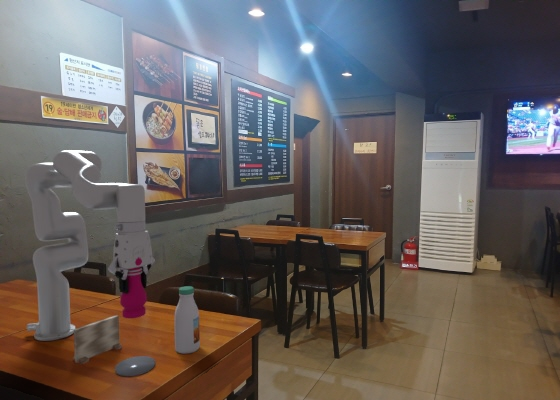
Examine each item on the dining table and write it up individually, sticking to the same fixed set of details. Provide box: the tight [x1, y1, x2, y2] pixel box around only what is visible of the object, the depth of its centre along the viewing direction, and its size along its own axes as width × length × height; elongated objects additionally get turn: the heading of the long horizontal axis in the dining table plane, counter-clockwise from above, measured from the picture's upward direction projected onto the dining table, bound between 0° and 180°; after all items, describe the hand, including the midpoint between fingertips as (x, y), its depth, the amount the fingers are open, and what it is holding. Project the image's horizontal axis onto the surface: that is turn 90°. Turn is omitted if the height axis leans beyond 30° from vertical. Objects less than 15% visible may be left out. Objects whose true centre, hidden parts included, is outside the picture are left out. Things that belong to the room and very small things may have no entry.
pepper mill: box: [119, 257, 148, 319], centre depth 111 cm, size 7×7×20 cm
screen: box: [72, 314, 123, 365], centre depth 121 cm, size 14×5×10 cm, turn 146°
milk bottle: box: [174, 285, 201, 355], centre depth 124 cm, size 8×8×20 cm
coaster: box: [114, 355, 156, 377], centre depth 113 cm, size 11×11×1 cm
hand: (133, 289), depth 111 cm, fingers closed on pepper mill, 5 cm apart
